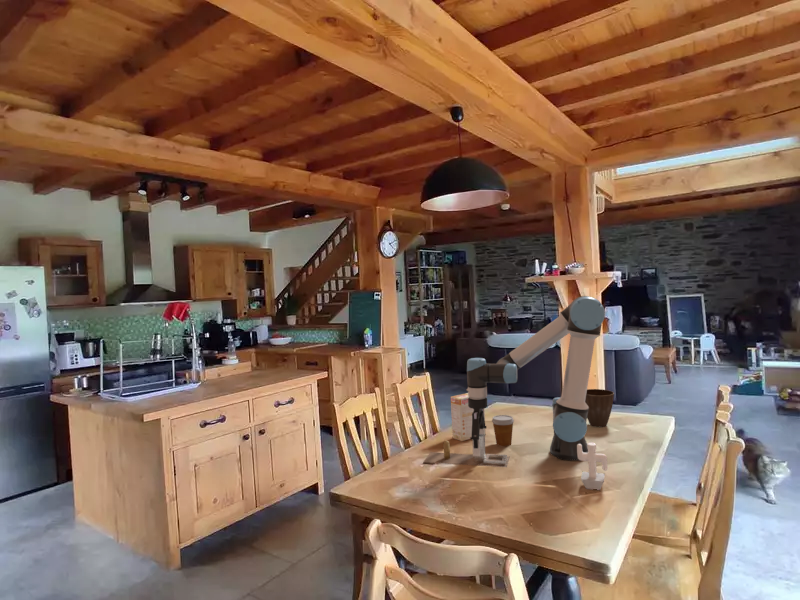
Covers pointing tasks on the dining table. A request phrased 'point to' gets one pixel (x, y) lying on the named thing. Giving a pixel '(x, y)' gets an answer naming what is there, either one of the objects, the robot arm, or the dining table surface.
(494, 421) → the disposable coffee cup
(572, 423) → the robot arm
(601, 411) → the plant pot
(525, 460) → the dining table surface
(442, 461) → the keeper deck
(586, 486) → the figurine
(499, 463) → the tie down link
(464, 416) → the coffeecake box
